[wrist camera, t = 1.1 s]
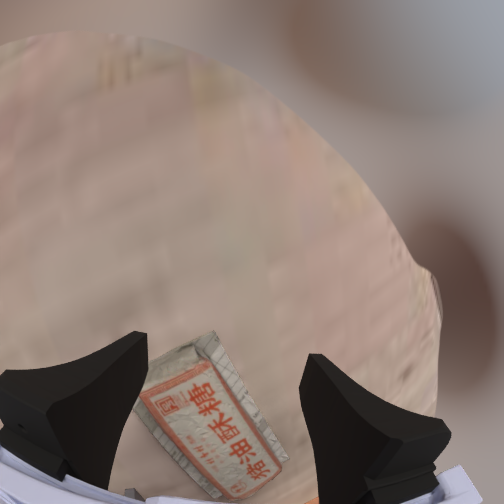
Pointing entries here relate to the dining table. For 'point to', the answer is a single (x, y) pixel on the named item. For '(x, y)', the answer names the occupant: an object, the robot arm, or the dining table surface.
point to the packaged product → (209, 420)
